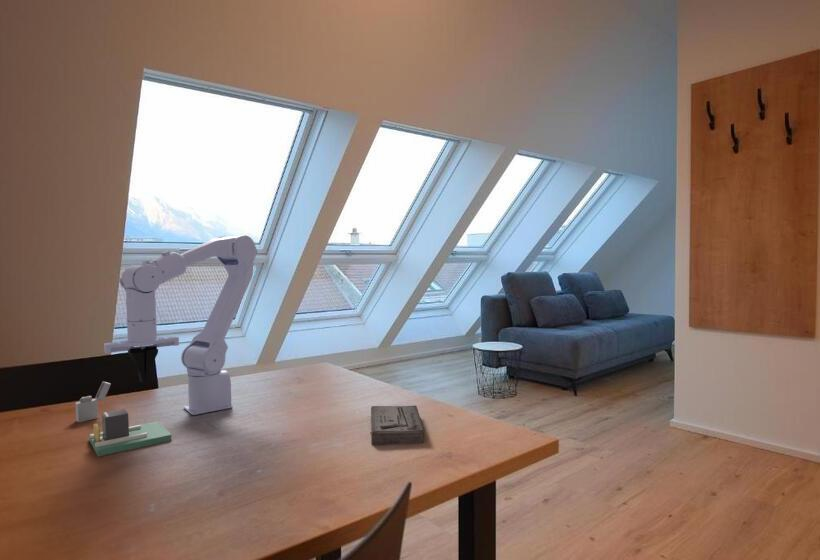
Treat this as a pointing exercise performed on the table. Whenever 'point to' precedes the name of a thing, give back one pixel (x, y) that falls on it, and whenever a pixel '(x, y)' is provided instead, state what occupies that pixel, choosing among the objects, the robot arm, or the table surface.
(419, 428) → the box
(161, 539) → the table surface
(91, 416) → the lighter
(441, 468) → the table surface
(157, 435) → the header board
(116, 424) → the plug
